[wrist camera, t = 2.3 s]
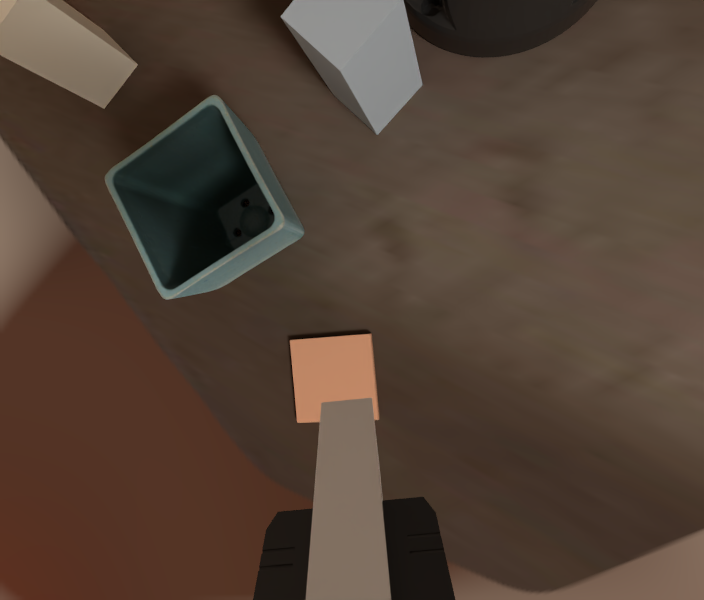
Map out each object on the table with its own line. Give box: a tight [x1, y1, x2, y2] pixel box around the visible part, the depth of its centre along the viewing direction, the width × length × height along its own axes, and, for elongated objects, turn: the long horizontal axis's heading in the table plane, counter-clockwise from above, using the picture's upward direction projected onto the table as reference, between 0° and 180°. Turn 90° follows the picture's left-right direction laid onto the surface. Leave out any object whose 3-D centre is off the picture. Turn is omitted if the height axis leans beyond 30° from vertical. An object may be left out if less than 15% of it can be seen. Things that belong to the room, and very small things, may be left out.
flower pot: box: [105, 95, 304, 299], centre depth 32 cm, size 9×9×9 cm
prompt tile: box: [290, 333, 379, 423], centre depth 35 cm, size 6×6×1 cm
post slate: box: [281, 0, 422, 135], centre depth 29 cm, size 4×4×10 cm
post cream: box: [0, 0, 138, 109], centre depth 34 cm, size 4×4×10 cm
